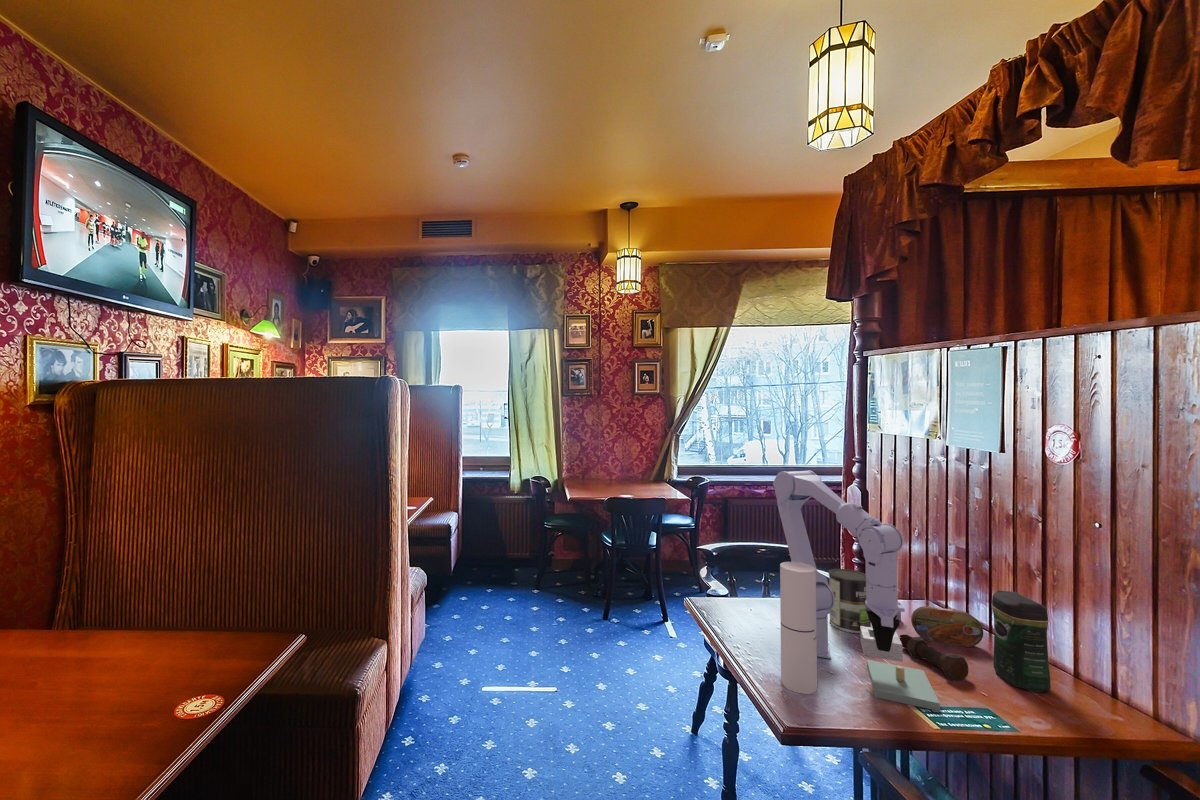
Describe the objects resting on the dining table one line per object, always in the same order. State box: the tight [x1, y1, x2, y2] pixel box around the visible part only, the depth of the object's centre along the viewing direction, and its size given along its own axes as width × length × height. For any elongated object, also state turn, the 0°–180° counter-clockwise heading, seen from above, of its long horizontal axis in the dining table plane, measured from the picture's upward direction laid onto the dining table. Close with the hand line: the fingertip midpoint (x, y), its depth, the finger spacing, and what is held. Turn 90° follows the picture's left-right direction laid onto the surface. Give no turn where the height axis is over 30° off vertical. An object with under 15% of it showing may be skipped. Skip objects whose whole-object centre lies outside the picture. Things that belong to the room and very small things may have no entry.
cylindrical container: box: [779, 561, 818, 695], centre depth 99 cm, size 7×7×25 cm
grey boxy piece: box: [859, 626, 904, 663], centre depth 99 cm, size 7×7×4 cm
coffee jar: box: [991, 589, 1051, 693], centre depth 101 cm, size 10×8×19 cm
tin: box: [910, 605, 984, 648], centre depth 118 cm, size 15×3×8 cm, turn 68°
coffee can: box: [828, 568, 872, 634], centre depth 127 cm, size 10×10×14 cm
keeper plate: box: [866, 659, 941, 712], centre depth 98 cm, size 11×13×4 cm
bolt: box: [898, 634, 969, 682], centre depth 108 cm, size 6×5×15 cm
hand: (882, 648), depth 96 cm, fingers closed on grey boxy piece
